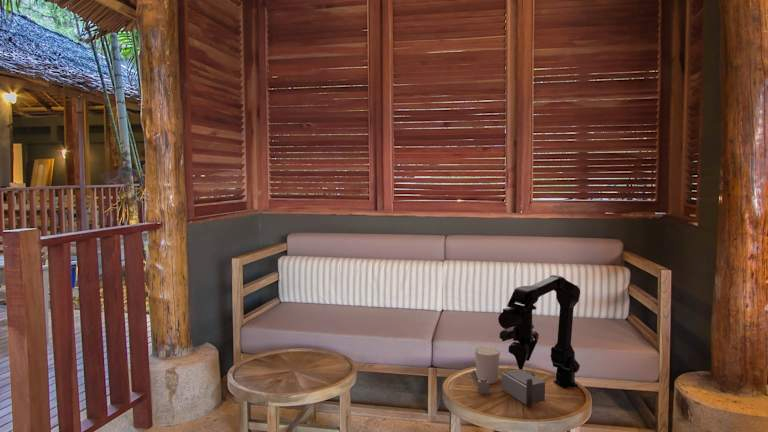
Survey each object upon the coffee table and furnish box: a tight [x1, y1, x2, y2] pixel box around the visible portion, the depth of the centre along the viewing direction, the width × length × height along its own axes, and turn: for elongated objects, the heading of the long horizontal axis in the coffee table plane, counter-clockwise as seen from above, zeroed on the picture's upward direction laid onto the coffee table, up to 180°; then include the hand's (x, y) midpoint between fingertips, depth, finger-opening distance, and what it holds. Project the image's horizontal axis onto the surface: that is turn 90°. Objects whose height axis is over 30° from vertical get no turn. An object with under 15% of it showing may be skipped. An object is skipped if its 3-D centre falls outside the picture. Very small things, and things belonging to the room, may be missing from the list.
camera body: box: [503, 368, 546, 405], centre depth 193 cm, size 9×14×7 cm, turn 24°
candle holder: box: [474, 345, 501, 385], centre depth 207 cm, size 10×10×12 cm
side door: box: [501, 372, 533, 408], centre depth 190 cm, size 2×17×10 cm, turn 23°
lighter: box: [469, 369, 490, 395], centre depth 196 cm, size 7×2×8 cm, turn 69°
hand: (524, 364), depth 188 cm, fingers open, 9 cm apart
